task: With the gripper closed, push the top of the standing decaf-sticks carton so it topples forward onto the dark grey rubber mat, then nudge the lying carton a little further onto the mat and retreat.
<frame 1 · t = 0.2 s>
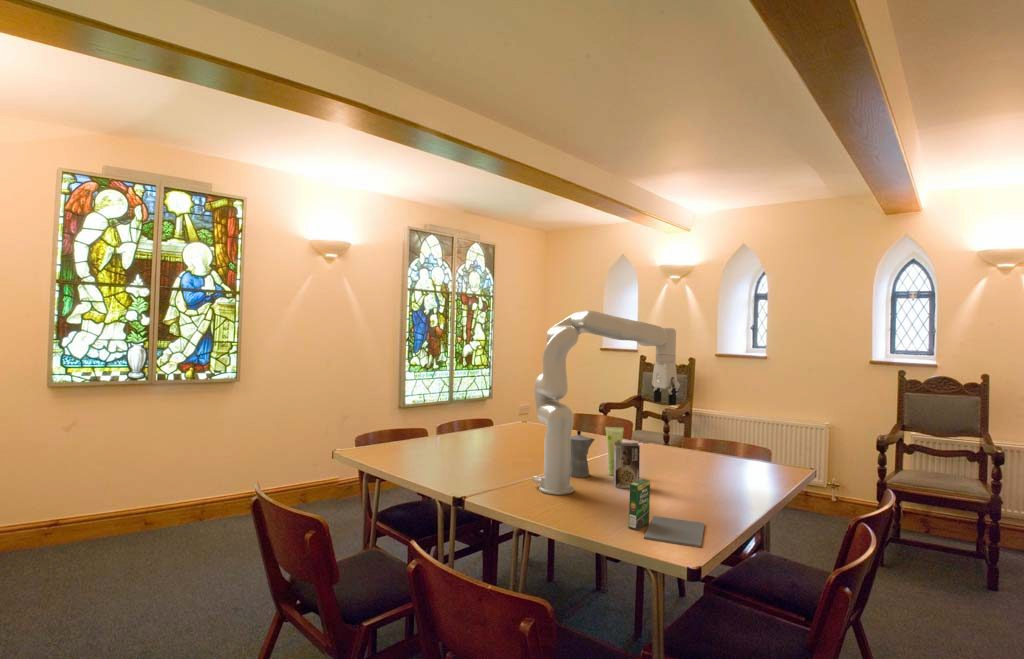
hand: (664, 403, 213), 31 cm above the table, tool pointing down, fingers open, 9 cm apart
coffee box 2: (638, 526, 162), on the table
coffeepot: (575, 475, 223), on the table
coffee box: (626, 486, 207), on the table
mat: (675, 531, 158), on the table
tube: (613, 475, 225), on the table
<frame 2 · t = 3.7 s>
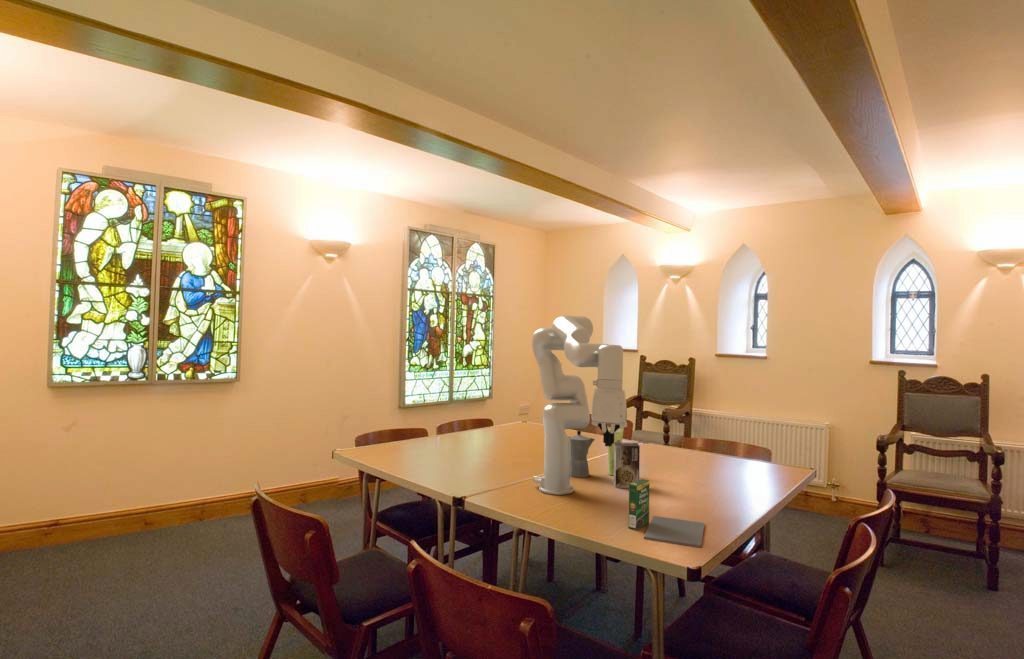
hand: (608, 445, 166), 23 cm above the table, tool pointing down, fingers closed
nothing on the table moved.
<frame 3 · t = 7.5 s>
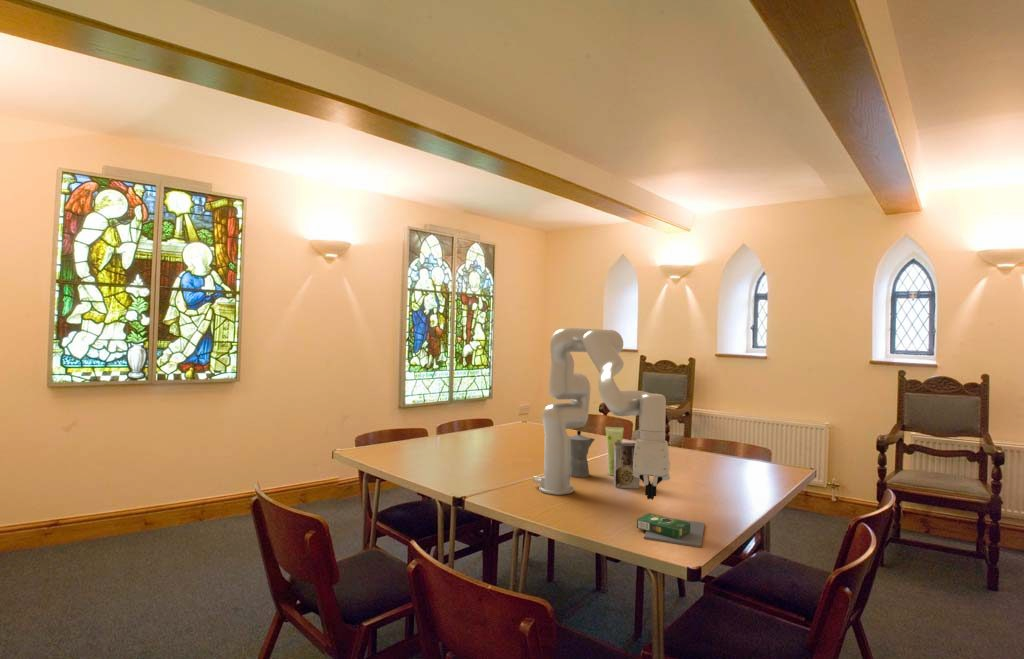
hand: (650, 498, 161), 9 cm above the table, tool pointing down, fingers closed
coffee box 2: (641, 520, 161), point 2 cm above the table, touching mat
everything else where it was.
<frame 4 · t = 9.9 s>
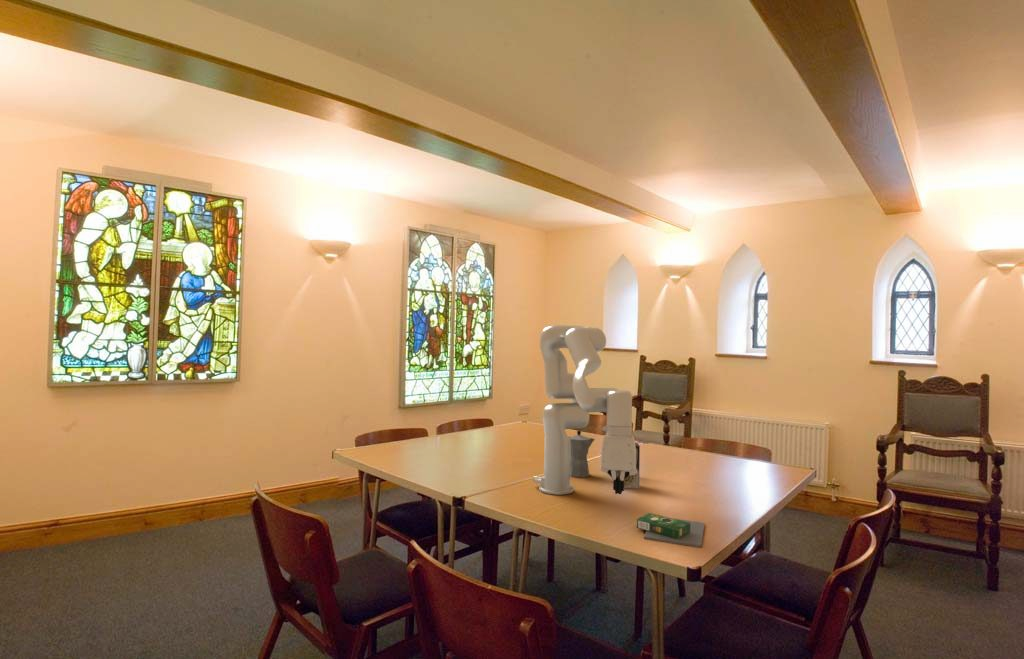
hand: (618, 492, 164), 9 cm above the table, tool pointing down, fingers closed
nothing on the table moved.
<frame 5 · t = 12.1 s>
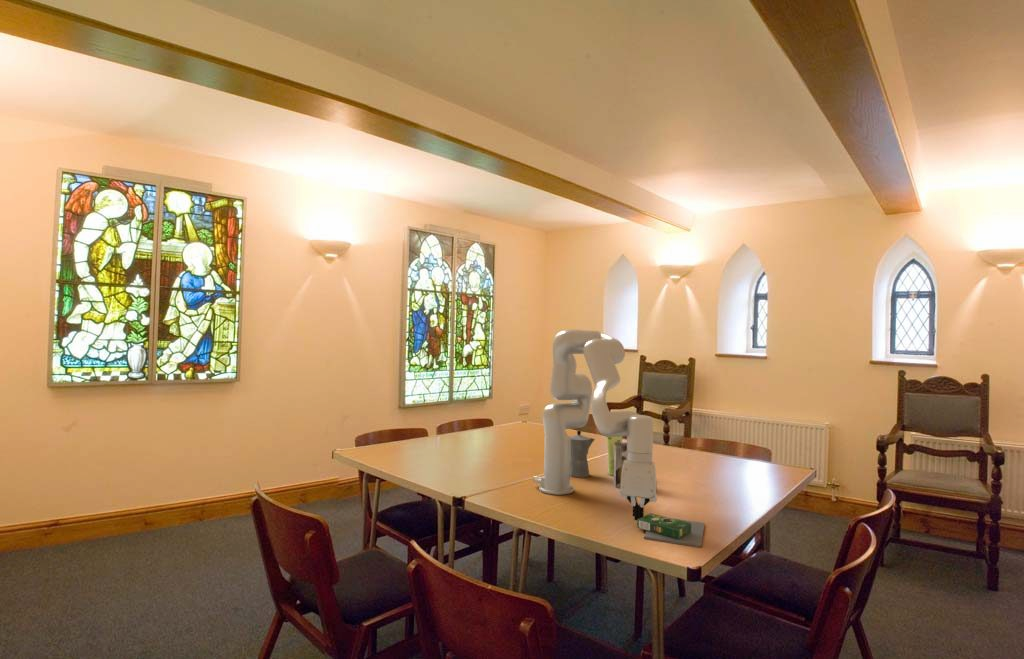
hand: (637, 519, 162), 2 cm above the table, tool pointing down, fingers closed
coffee box 2: (642, 520, 161), point 2 cm above the table, touching gripper, mat
everything else where it was.
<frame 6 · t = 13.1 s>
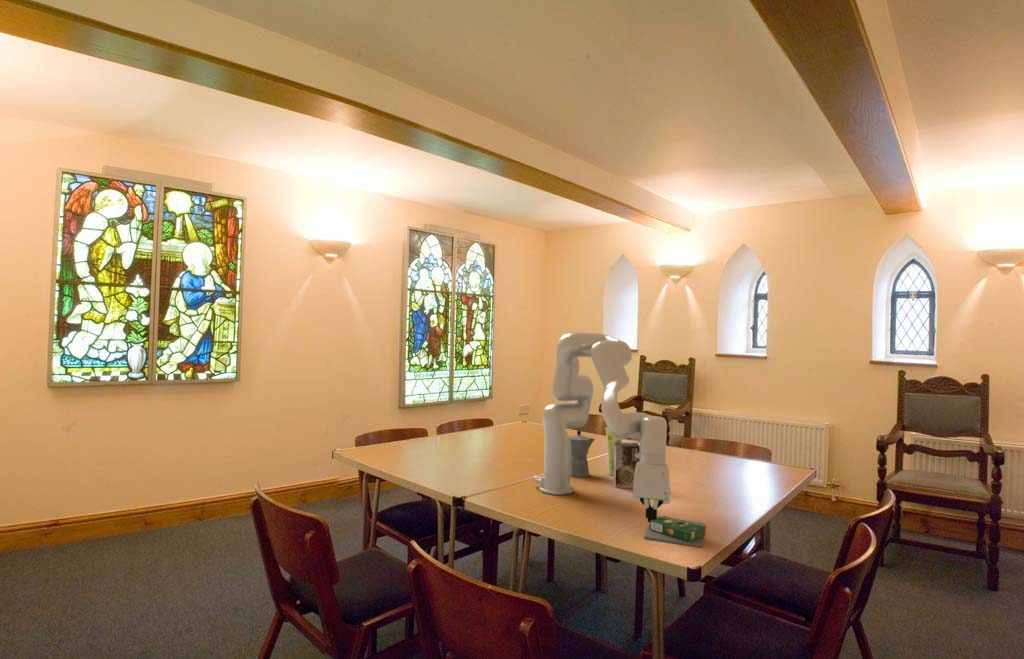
hand: (651, 521, 161), 2 cm above the table, tool pointing down, fingers closed
coffee box 2: (655, 522, 159), point 2 cm above the table, touching gripper, mat
everything else where it was.
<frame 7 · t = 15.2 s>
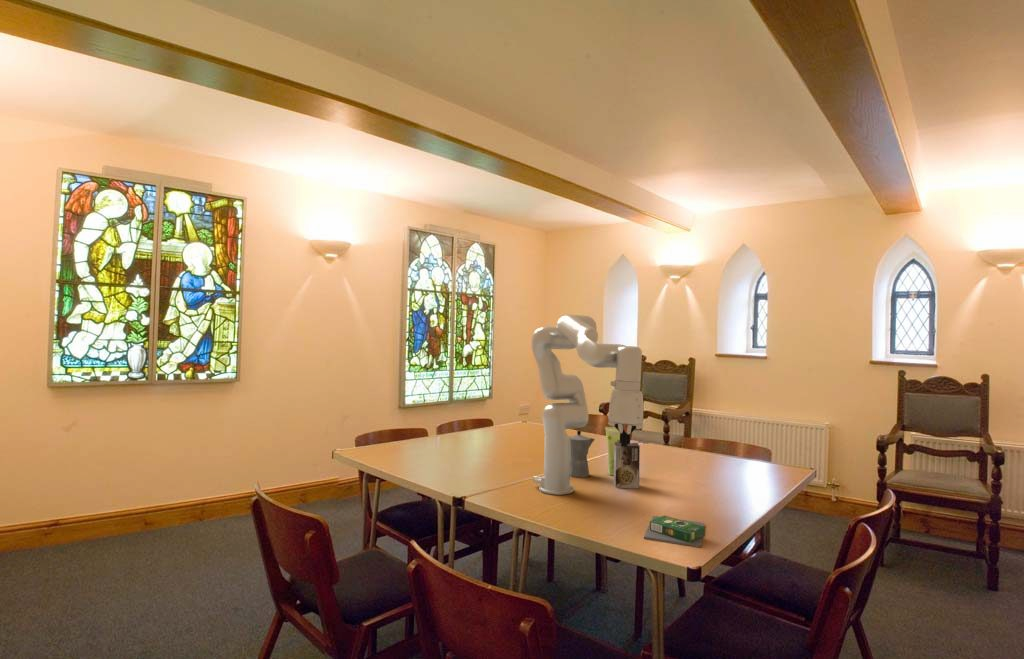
hand: (624, 445, 168), 23 cm above the table, tool pointing down, fingers closed
coffee box 2: (655, 522, 159), point 2 cm above the table, touching mat
everything else where it was.
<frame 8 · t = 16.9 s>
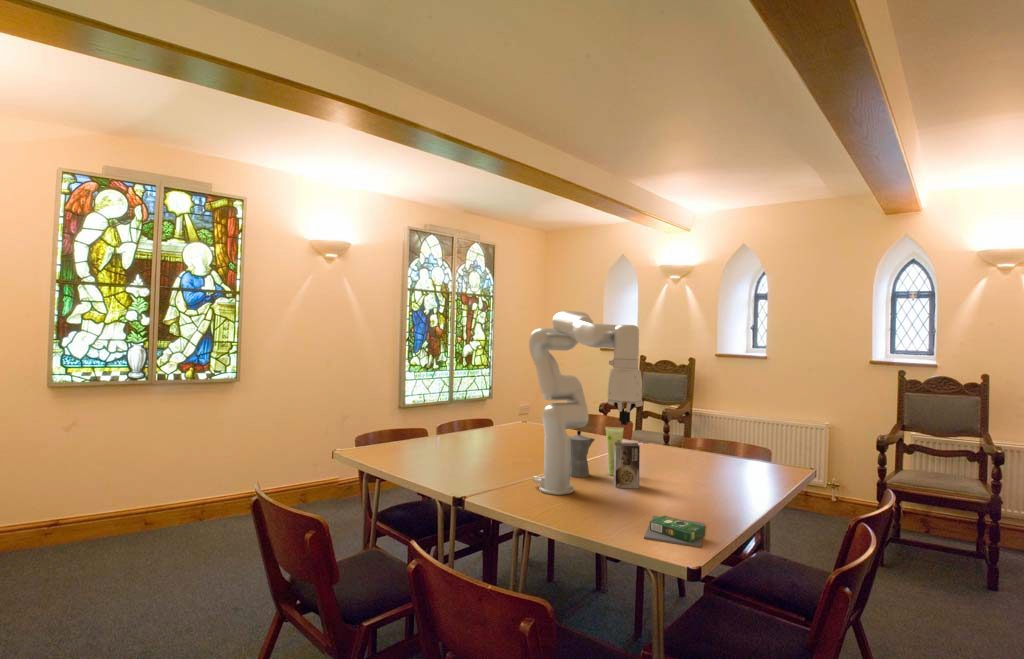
hand: (624, 424, 168), 29 cm above the table, tool pointing down, fingers closed
nothing on the table moved.
at the end: coffee box 2 tilted 90°; coffee box 2 inside the target area (5.5 cm from its centre), point 2.0 cm above the table; the gripper is holding nothing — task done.
